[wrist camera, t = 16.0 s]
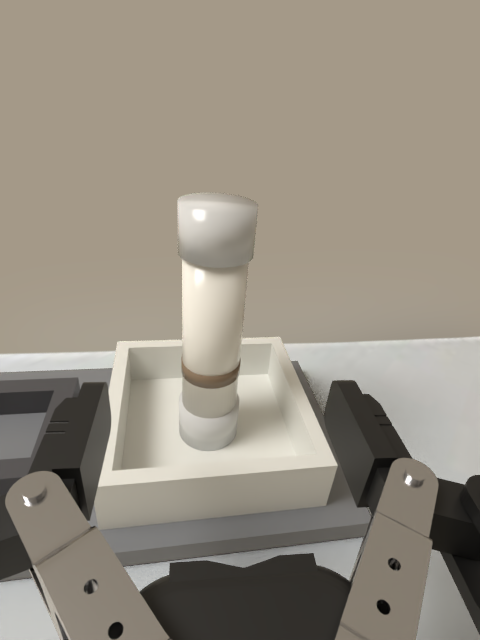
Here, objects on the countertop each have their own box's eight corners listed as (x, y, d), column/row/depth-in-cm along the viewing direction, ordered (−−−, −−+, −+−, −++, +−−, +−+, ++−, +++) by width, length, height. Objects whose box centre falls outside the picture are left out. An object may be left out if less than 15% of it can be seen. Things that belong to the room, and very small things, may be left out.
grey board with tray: (295, 372, 33) (303, 327, 31) (368, 535, 21) (390, 482, 19) (-53, 388, 28) (-73, 336, 26) (-207, 607, 17) (-268, 547, 14)
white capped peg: (244, 417, 26) (267, 199, 19) (224, 458, 23) (243, 218, 16) (193, 402, 27) (197, 189, 20) (168, 440, 24) (162, 204, 17)
